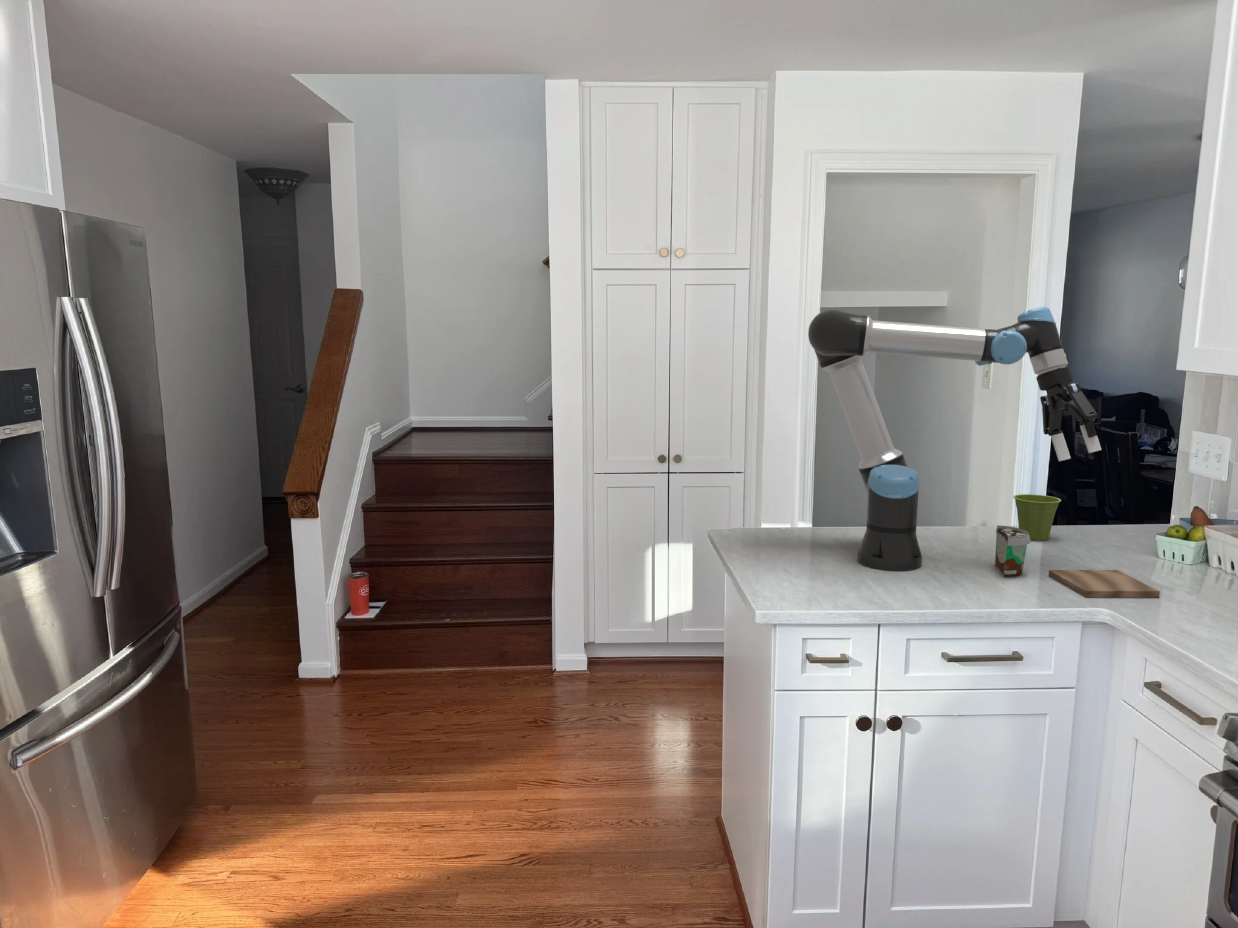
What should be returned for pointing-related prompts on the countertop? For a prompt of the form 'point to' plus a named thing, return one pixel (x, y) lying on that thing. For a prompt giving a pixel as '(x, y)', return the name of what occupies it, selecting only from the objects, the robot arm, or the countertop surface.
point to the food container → (1010, 550)
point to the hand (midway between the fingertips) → (1079, 456)
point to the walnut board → (1103, 584)
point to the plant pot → (1036, 514)
